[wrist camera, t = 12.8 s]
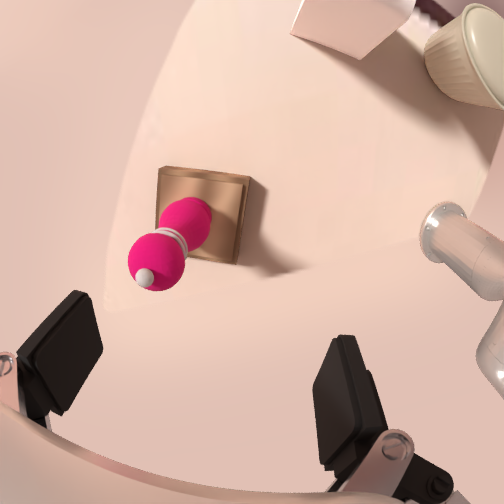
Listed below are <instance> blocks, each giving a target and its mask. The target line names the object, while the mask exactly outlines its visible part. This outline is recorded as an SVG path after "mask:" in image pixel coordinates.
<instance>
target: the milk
mask: <svg viewBox="0 0 504 504" xmlns="http://www.w3.org/2000/svg"><path fill="white" fill-rule="evenodd" d="M415 2H416V0H302V2H301V4H300V7H299V10H298V12H297V15H296V18H295V21H294V23H293V26H292V29H291V32H290V34H291V35H295V36H298V37H301V38H304V39H307V40H310V41H313V42H316V43H319V44H321V45H324V46H327V47H329V48H332V49H334V50H337V51H339V52H342V53H344V54H347V55H349V56H351V57H354V58H356V59H358V60H361V59H362V58H363V57H365V56H366V55H367V54H368V53H369V52H370V51H372V50H373V49H374V48H375V47H376V46H377V45H379V44H380V43H381V42H382V41H383V40H385V39H386V38H387V37H388V36H389V35H391V34H392V33H393V32H394V31H395V30H397V29H398V28H399V27H400V26H402V25H403V24H404V23H405V22H406V21H407V20H408V19H409V17H410V15H411V13H412V11H413V8H414V5H415Z"/></svg>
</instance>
